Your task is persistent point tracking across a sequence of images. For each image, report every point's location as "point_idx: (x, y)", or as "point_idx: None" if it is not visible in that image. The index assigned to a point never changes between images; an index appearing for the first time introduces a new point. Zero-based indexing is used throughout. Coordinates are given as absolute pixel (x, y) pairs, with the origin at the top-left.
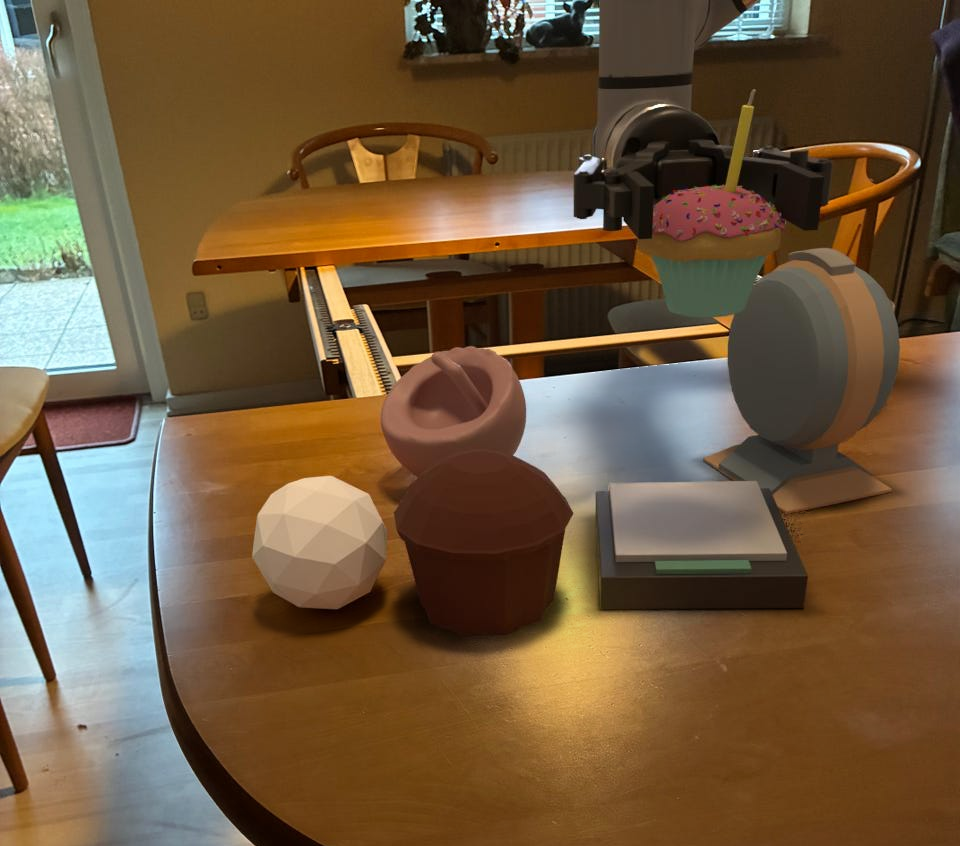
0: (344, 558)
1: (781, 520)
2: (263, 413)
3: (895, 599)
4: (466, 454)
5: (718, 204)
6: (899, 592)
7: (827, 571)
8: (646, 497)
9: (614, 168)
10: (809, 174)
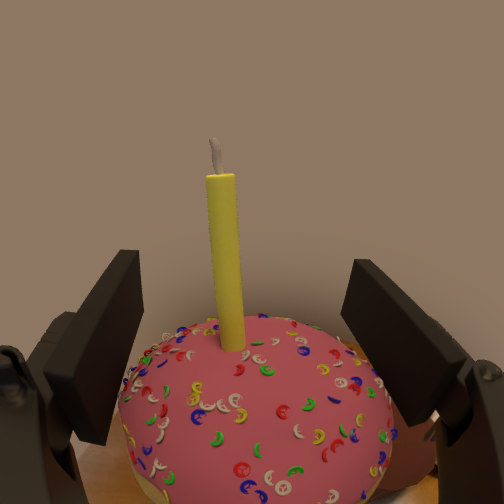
0: (434, 412)
1: None
2: None
3: (109, 462)
4: (416, 427)
5: (260, 317)
6: (103, 468)
7: (134, 500)
8: None
9: None
10: (122, 263)
